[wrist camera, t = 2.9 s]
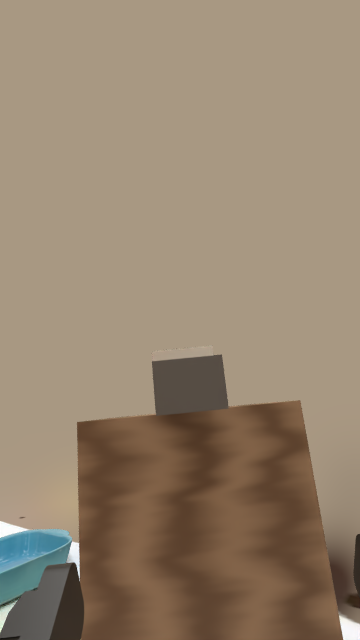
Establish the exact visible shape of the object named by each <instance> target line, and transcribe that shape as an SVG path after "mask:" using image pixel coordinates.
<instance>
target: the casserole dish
mask: <svg viewBox="0 0 360 640" xmlns="http://www.w3.org/2000/svg"><path fill="white" fill-rule="evenodd" d="M71 542H72V538H71V537H70V536H69V532H68V531H65V530H59V529H47V530H38V529H37V530H28V531H23V532H19V533H15V534H11V535H8V536H5V537H1V538H0V606H1V605H2V604H5V603H8V602H10V601H12V600H14V599H16V598H18V597H20V596H22V595H23V593H24V592H25V591H32V590H34V589H36V588H38V585H39V582H40V580H41V577H42V574H43V571H44V569H45V568H46V566H48V565H55V564H64V563H66V560H67V557H68V554H69V550H70V546H71Z"/></svg>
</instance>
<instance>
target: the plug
mask: <svg viewBox="0 0 360 640" xmlns="http://www.w3.org/2000/svg"><path fill="white" fill-rule="evenodd" d="M152 359H153V361H152V367H153V380H154V394H155V408H156V416H159V415H169V414H180V413H190V412H200V411H210V410H220V409H229V407H228V399H227V393H226V384H225V377H224V368H223V360H222V355H213V348H212V346H204V347H193V348H182V349H171V350H161V351H153V352H152Z"/></svg>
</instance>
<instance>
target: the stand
mask: <svg viewBox="0 0 360 640" xmlns="http://www.w3.org/2000/svg"><path fill="white" fill-rule="evenodd" d="M228 407H229V409H220V410H210V411H200V412H190V413H180V414H169V415H159V416H156V414H148V415H138V416H126V417H117V418H107V419H99V420H91V421H84V422H77V438H78V439H77V440H78V496H79V553H80V585H81V590H82V595H83V600H84V624H83V630H82V635H81V640H343V636H342V631H341V625H340V620H339V614H338V609H337V604H336V597H335V592H334V586H333V581H332V575H331V570H330V564H329V559H328V553H327V547H326V542H325V536H324V531H323V525H322V519H321V514H320V508H319V503H318V497H317V492H316V486H315V480H314V475H313V470H312V464H311V458H310V452H309V447H308V441H307V436H306V430H305V425H304V419H303V414H302V408H301V403H300V400H298V401H285V402H272V403H259V404H250V405H238V406H228Z"/></svg>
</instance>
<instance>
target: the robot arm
mask: <svg viewBox="0 0 360 640" xmlns="http://www.w3.org/2000/svg"><path fill="white" fill-rule="evenodd" d="M354 581H355V586H356V589H357V592H358V595H359V597H360V534H358V535H357V536H356V544H355V559H354ZM83 624H84V600H83V595H82V590H81V585H80V581H79V576H78V571H77V567H76V564H75V563H64V564H55V565H48V566H46V568H45V569H44V571H43V574H42V577H41V580H40V582H39V585H38V588H37V590H34V591H25V592H24V593H23V595H22V596H21V597H20V599H19V600H18V601H17V603H16V604H15V605H14V607H13V608H12V609H11V611H10V612H9V613H8V616H7V618H6V621H5V623H4V626H3V628H2V630H1V633H0V640H81V635H82V630H83Z"/></svg>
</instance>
